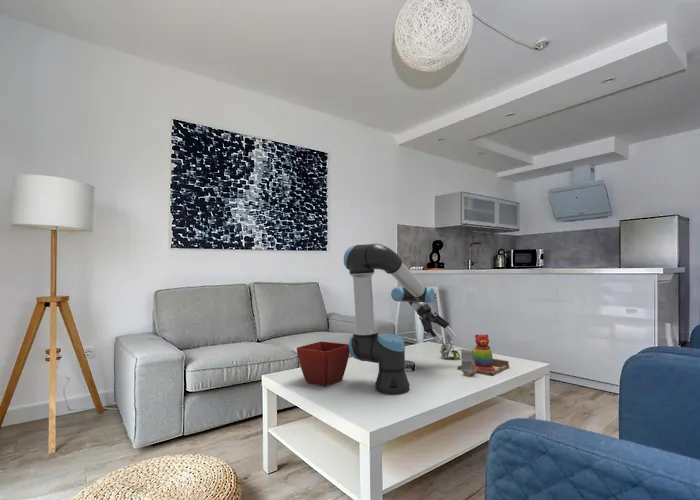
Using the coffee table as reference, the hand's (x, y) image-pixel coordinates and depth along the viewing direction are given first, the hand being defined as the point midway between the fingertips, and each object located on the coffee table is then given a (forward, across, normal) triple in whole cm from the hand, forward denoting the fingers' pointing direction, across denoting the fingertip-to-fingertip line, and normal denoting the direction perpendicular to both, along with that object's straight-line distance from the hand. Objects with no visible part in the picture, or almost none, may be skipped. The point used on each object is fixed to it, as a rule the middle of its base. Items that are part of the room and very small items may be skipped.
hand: (447, 339), depth 191 cm
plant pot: (-14, +52, -37) cm, 66 cm away
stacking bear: (+19, -16, -4) cm, 25 cm away
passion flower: (+2, -26, -22) cm, 34 cm away
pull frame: (+19, -12, -4) cm, 23 cm away
